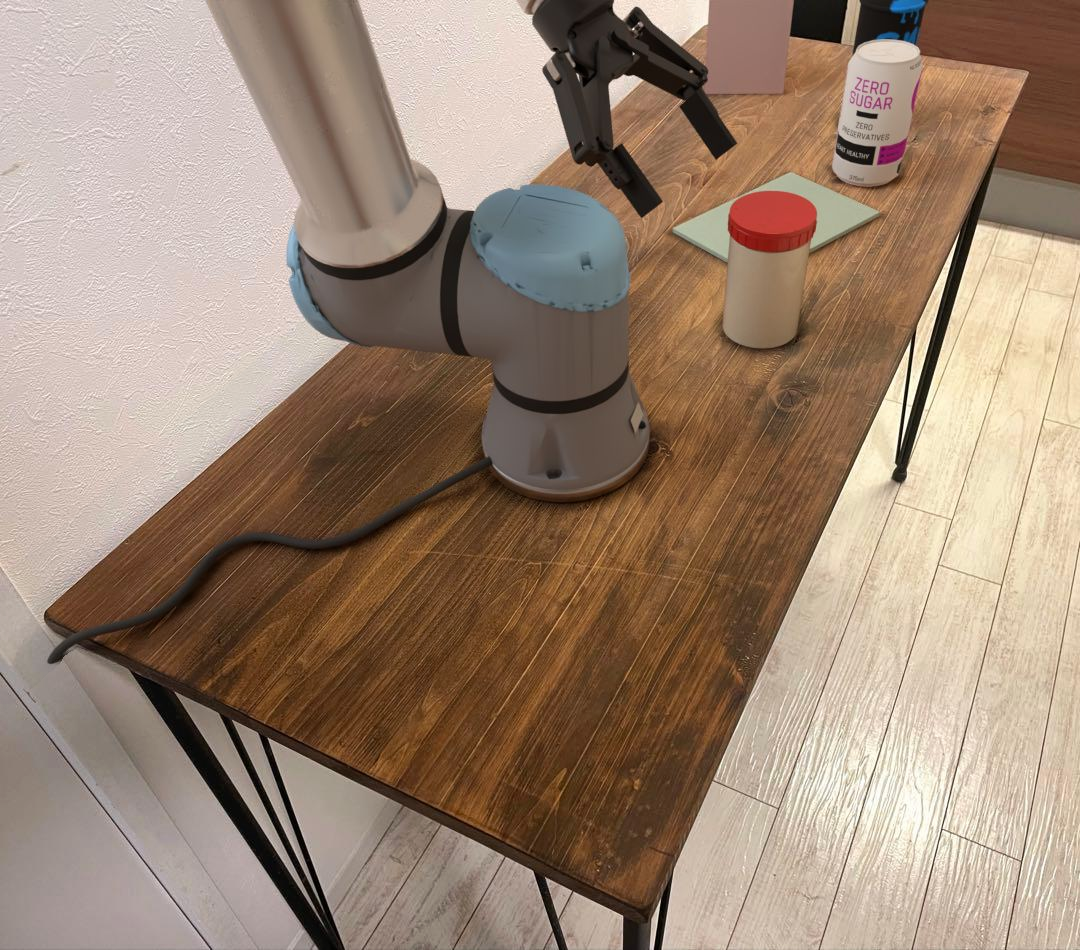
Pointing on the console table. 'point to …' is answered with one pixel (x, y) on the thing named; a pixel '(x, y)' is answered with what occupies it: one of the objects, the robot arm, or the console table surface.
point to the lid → (772, 221)
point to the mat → (832, 207)
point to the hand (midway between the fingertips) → (691, 180)
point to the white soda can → (876, 112)
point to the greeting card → (747, 46)
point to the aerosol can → (889, 21)
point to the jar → (763, 295)
